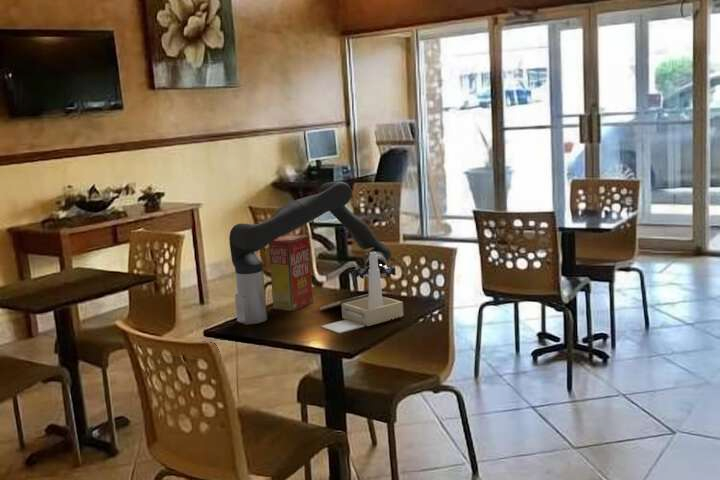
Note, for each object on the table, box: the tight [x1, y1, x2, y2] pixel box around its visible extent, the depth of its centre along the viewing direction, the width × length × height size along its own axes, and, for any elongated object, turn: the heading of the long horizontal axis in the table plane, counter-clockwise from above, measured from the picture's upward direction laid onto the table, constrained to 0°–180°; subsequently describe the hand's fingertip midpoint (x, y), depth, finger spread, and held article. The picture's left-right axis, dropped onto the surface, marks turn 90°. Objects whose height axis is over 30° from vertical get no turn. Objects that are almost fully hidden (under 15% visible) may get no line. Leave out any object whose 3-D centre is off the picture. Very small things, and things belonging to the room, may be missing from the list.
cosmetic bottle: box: [368, 252, 383, 310], centre depth 258 cm, size 6×6×22 cm
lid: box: [319, 293, 369, 311], centre depth 271 cm, size 15×13×1 cm
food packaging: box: [268, 233, 314, 312], centre depth 278 cm, size 13×9×25 cm
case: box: [339, 293, 404, 327], centre depth 259 cm, size 16×15×6 cm
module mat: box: [320, 319, 366, 334], centre depth 251 cm, size 10×10×1 cm
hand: (374, 275), depth 268 cm, fingers open, 8 cm apart
